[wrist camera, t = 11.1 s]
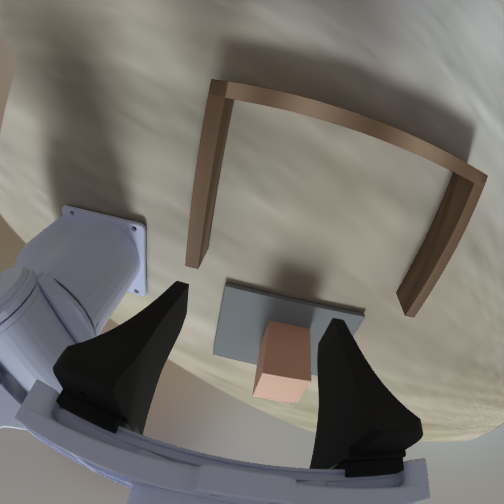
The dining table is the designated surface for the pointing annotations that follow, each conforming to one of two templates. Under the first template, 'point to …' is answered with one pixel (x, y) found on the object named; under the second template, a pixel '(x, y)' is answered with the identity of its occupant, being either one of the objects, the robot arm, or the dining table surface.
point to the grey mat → (274, 309)
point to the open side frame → (463, 180)
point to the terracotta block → (283, 363)
